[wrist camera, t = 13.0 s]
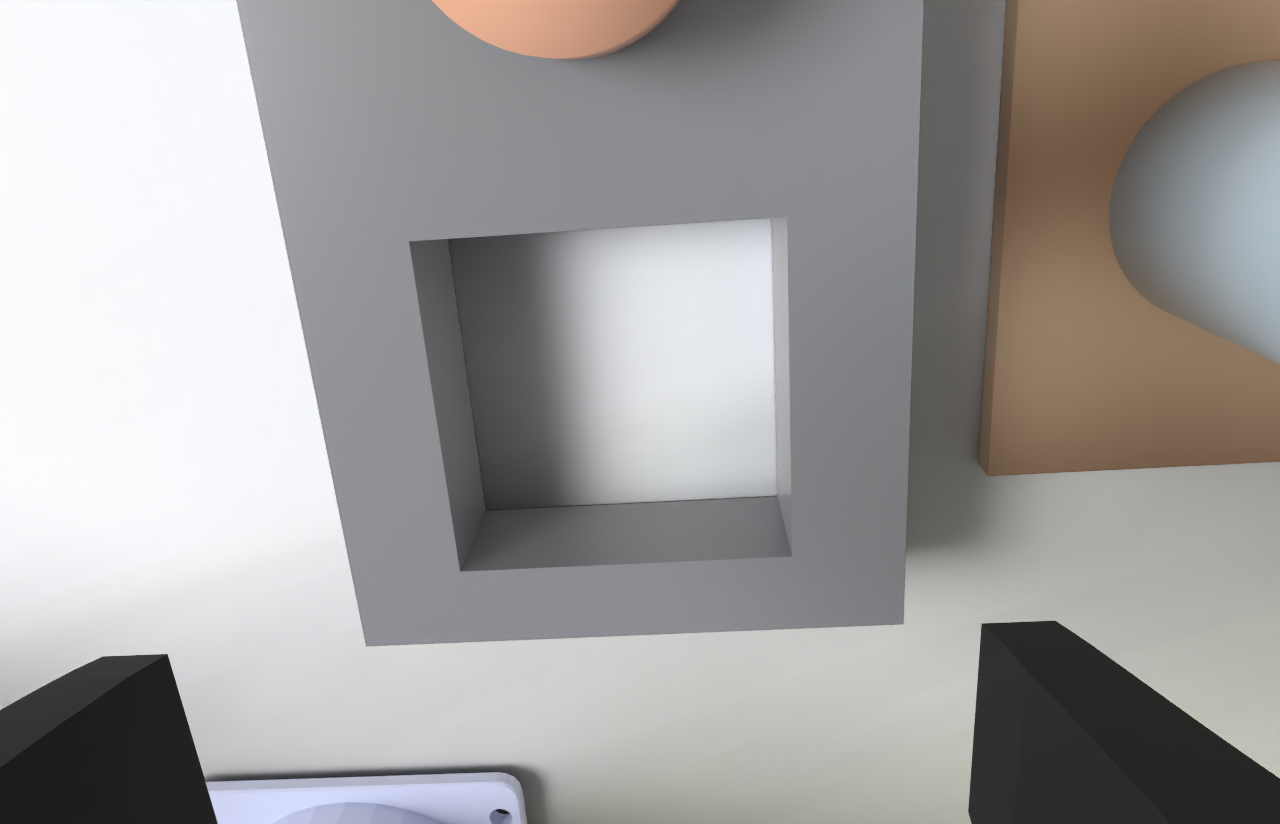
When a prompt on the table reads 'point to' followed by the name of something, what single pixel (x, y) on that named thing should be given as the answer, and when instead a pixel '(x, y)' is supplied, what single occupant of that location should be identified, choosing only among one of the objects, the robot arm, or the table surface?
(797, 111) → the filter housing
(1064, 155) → the walnut pad
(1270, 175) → the cylinder
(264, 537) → the table surface
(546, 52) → the plunger
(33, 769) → the robot arm
